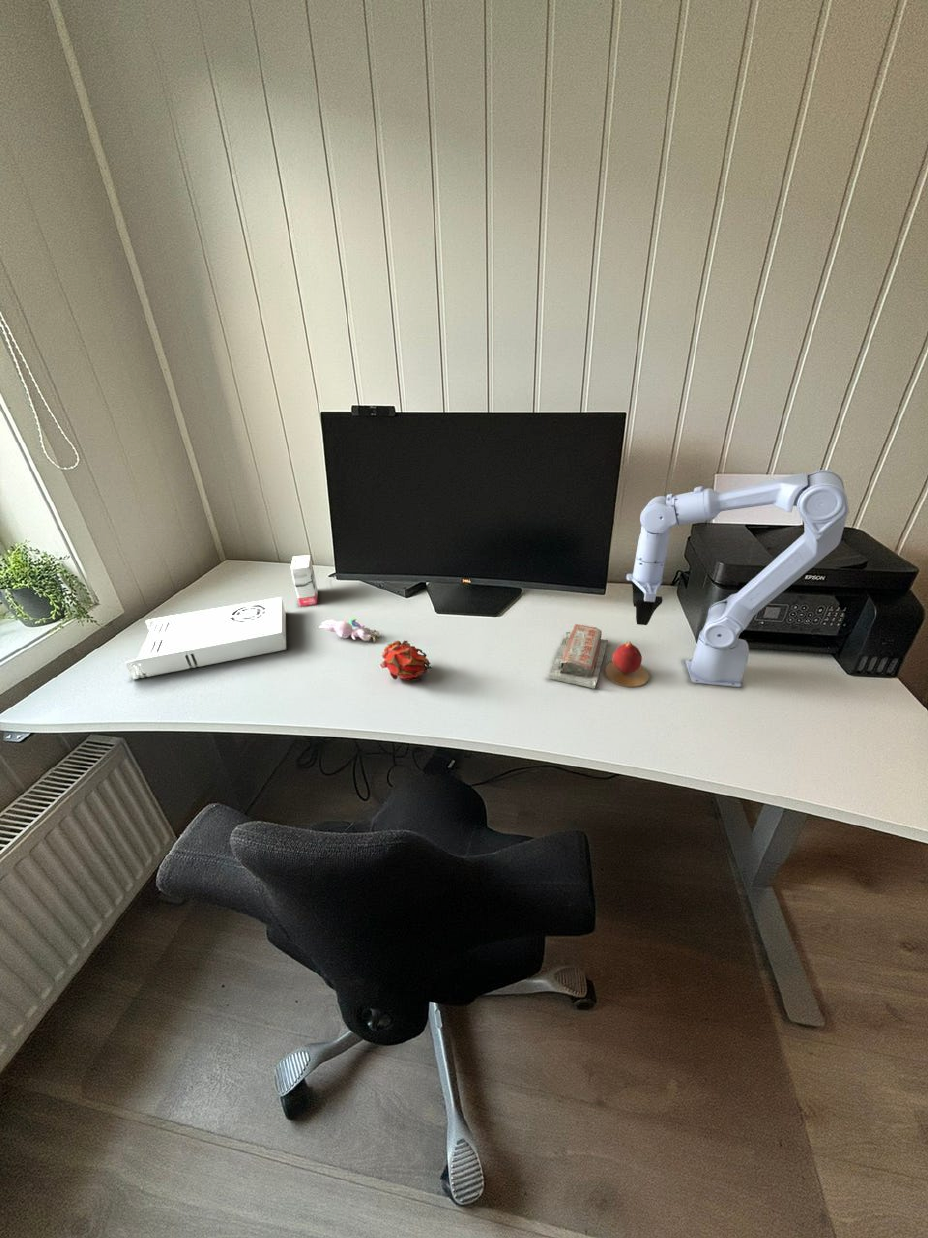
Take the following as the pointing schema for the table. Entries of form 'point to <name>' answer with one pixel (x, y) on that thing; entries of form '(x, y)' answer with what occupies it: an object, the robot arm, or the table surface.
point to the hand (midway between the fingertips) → (640, 614)
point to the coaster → (626, 676)
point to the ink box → (304, 580)
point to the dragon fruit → (404, 661)
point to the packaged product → (579, 657)
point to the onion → (627, 658)
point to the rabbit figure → (349, 629)
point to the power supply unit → (211, 637)
